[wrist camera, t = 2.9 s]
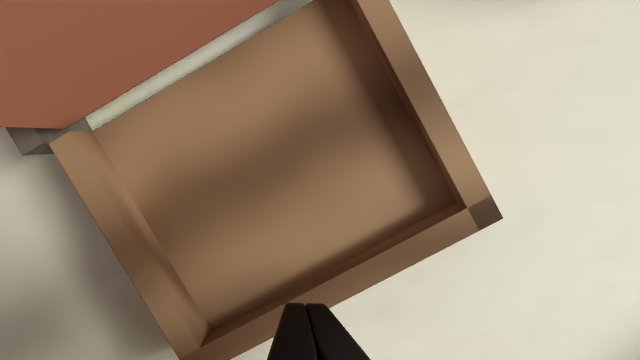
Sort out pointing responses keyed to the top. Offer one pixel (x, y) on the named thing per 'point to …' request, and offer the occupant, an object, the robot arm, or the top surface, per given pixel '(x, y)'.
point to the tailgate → (97, 50)
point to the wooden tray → (276, 177)
